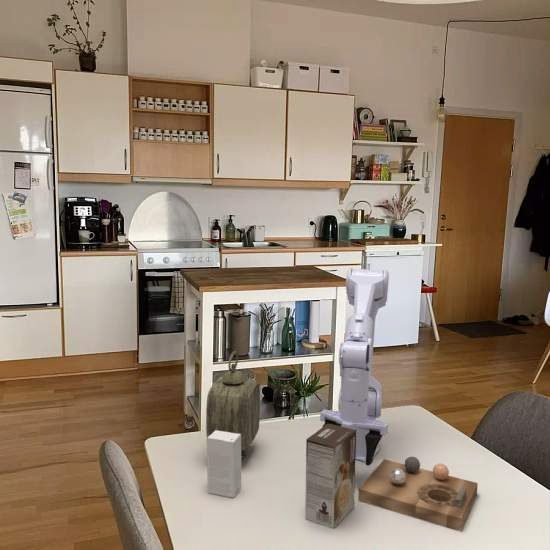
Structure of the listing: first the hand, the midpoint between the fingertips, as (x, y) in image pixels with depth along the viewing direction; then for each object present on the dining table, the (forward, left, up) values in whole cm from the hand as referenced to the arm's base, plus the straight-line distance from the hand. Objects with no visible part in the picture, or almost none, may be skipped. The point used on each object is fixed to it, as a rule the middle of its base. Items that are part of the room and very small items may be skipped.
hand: (352, 459), depth 119 cm
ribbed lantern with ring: (-28, -3, -6) cm, 29 cm away
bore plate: (+14, +2, -5) cm, 15 cm away
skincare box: (-21, -17, -6) cm, 28 cm away
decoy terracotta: (+17, +7, -1) cm, 18 cm away
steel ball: (+10, 0, -1) cm, 10 cm away
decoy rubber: (+11, +7, -1) cm, 13 cm away
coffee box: (+1, -13, -6) cm, 14 cm away
